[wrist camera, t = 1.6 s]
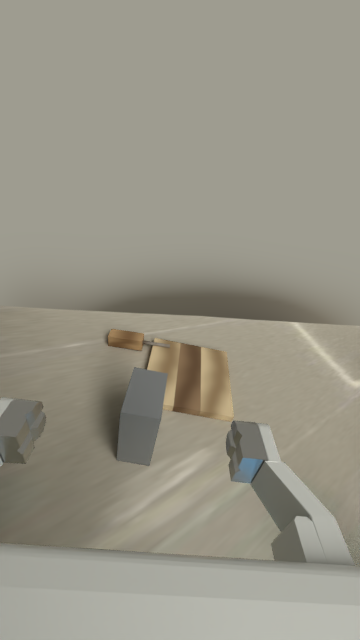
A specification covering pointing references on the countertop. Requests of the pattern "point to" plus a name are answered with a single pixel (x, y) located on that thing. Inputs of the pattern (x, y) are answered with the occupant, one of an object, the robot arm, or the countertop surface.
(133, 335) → the awl
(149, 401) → the block
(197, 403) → the plywood board
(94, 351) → the countertop surface
